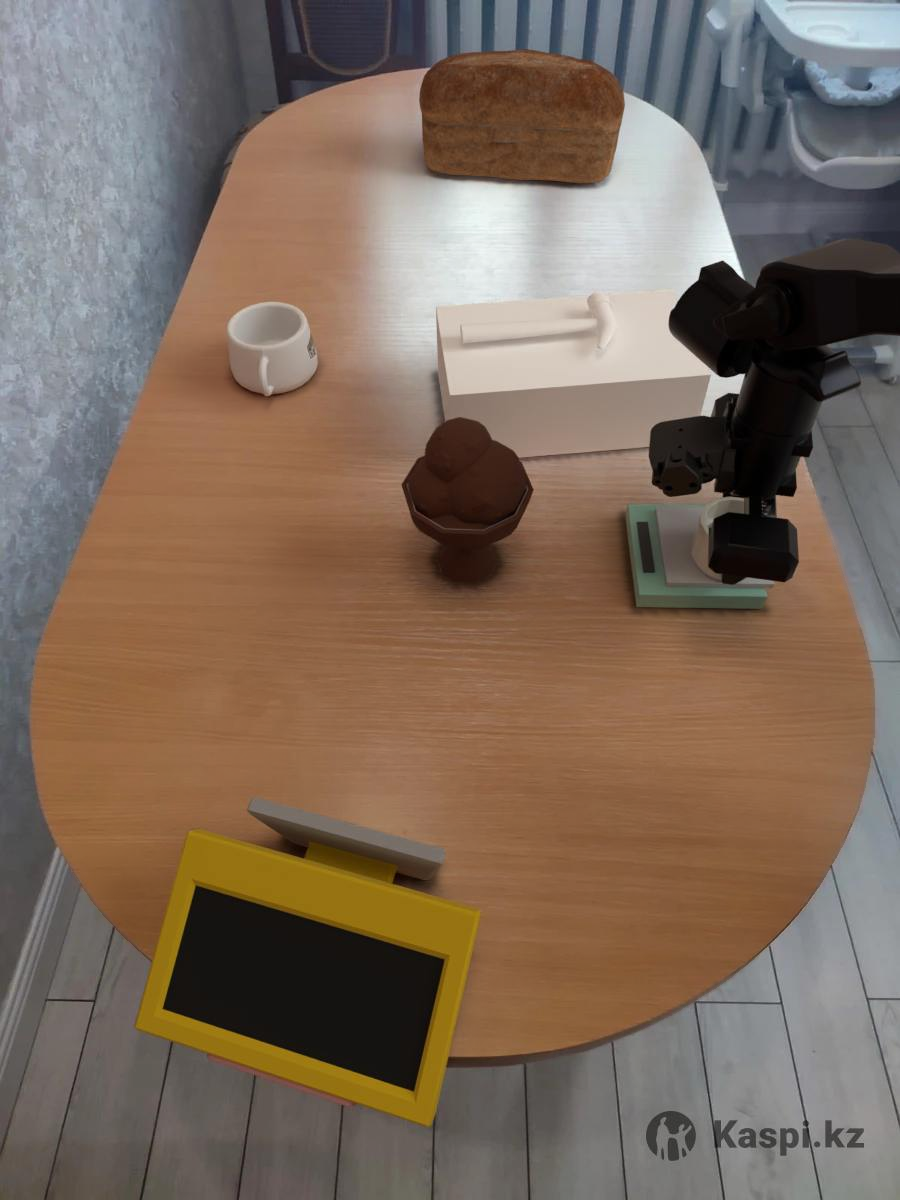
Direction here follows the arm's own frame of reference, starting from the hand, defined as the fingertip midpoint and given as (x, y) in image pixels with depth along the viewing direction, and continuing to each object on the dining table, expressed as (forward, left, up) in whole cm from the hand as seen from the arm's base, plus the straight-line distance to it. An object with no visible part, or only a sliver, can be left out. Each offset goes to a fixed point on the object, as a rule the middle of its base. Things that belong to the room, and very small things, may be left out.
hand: (727, 550), depth 78 cm
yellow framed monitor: (+25, +31, +1) cm, 40 cm away
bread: (+29, -73, -4) cm, 78 cm away
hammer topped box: (+17, -21, -4) cm, 27 cm away
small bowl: (0, 0, -1) cm, 1 cm away
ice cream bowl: (+23, +2, -4) cm, 23 cm away
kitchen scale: (+3, -1, -3) cm, 4 cm away
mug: (+49, -21, -4) cm, 53 cm away
